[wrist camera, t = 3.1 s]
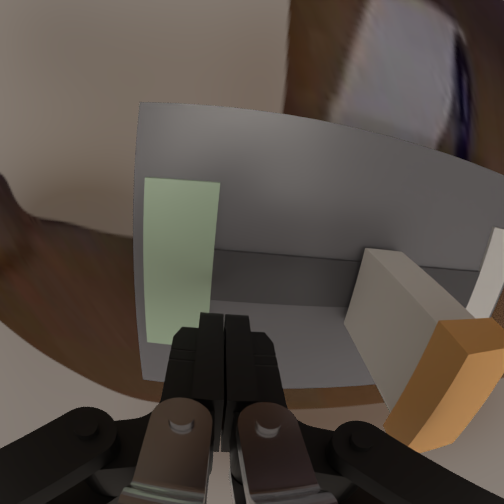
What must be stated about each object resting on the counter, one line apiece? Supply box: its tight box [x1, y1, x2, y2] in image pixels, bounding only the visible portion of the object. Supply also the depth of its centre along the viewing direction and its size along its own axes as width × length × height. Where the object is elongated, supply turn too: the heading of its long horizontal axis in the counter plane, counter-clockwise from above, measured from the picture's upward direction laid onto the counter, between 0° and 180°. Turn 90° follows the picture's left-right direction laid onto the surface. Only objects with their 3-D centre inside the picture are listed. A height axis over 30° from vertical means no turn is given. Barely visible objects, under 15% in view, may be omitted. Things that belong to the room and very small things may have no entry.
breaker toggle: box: [344, 248, 504, 453], centre depth 11 cm, size 3×5×8 cm, turn 173°
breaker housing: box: [133, 102, 504, 388], centre depth 17 cm, size 22×14×5 cm, turn 83°
